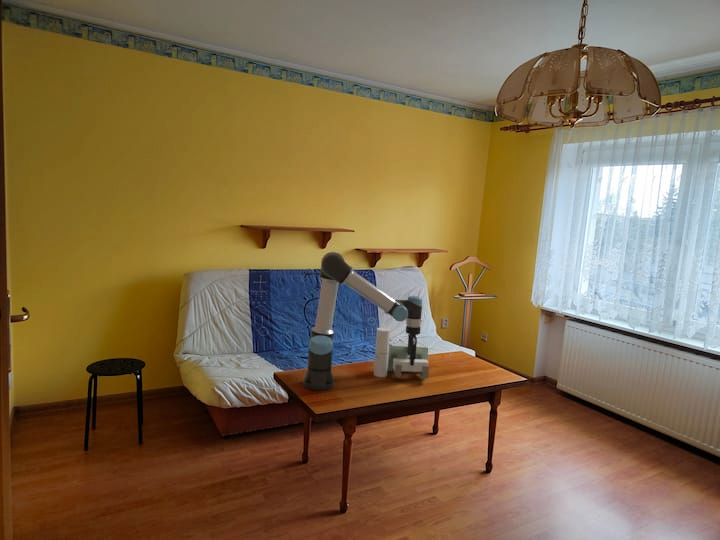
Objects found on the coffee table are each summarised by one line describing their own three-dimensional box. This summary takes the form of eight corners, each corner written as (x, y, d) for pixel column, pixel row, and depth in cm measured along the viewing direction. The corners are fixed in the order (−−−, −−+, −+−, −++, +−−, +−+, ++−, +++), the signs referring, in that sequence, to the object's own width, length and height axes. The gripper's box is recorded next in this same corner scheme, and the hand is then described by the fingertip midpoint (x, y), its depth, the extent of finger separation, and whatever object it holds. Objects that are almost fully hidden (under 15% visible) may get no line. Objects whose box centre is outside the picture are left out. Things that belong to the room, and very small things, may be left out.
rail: (394, 370, 242) (394, 361, 241) (392, 367, 246) (393, 358, 246) (428, 371, 243) (428, 362, 243) (426, 368, 248) (426, 359, 248)
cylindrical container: (386, 377, 245) (389, 331, 242) (372, 376, 246) (375, 330, 243) (387, 373, 252) (391, 328, 249) (375, 371, 253) (378, 327, 250)
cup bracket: (389, 382, 239) (391, 355, 237) (386, 370, 257) (388, 345, 255) (432, 384, 239) (434, 357, 238) (425, 371, 258) (427, 347, 256)
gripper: (423, 330, 233) (420, 375, 236) (417, 322, 251) (414, 363, 254) (408, 329, 233) (405, 374, 236) (403, 321, 251) (401, 363, 254)
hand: (410, 368), depth 245 cm, fingers closed on rail, 5 cm apart
